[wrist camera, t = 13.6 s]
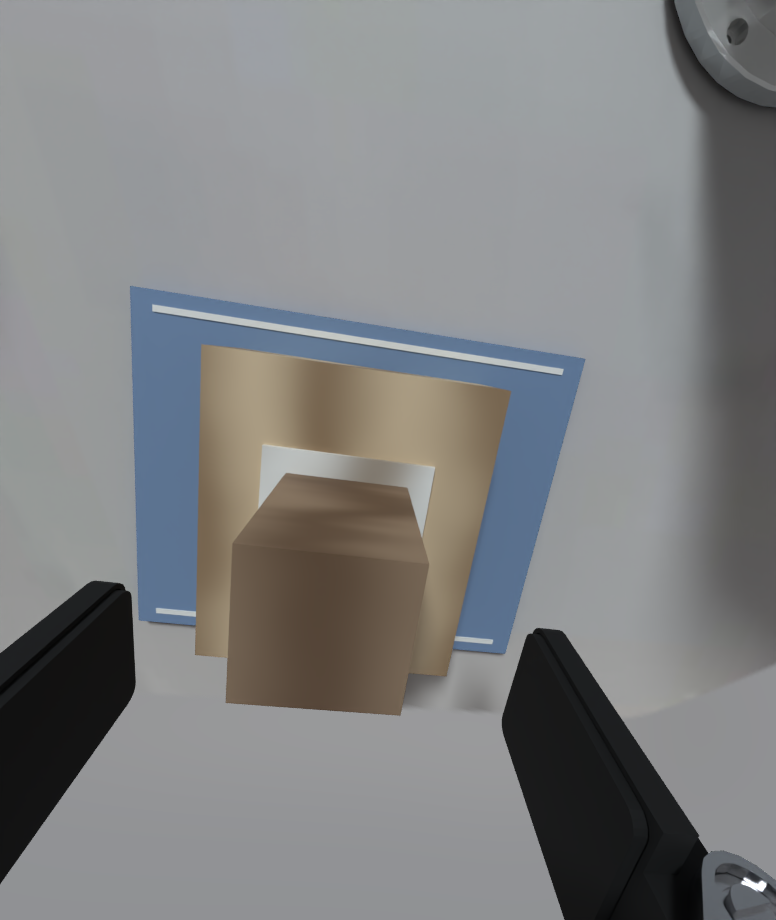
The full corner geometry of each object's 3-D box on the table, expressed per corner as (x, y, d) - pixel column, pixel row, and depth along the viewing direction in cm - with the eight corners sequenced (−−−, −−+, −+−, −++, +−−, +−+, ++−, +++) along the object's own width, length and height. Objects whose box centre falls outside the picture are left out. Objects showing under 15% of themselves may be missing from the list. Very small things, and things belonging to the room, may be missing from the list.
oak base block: (477, 383, 19) (513, 391, 15) (431, 612, 23) (447, 679, 18) (243, 348, 18) (198, 343, 14) (232, 592, 22) (193, 658, 17)
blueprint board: (578, 358, 19) (585, 359, 19) (501, 646, 24) (505, 654, 23) (138, 288, 18) (129, 285, 17) (144, 613, 22) (138, 621, 21)
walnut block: (407, 487, 15) (429, 564, 10) (390, 592, 17) (400, 715, 11) (285, 472, 15) (232, 543, 9) (277, 580, 16) (225, 702, 10)
